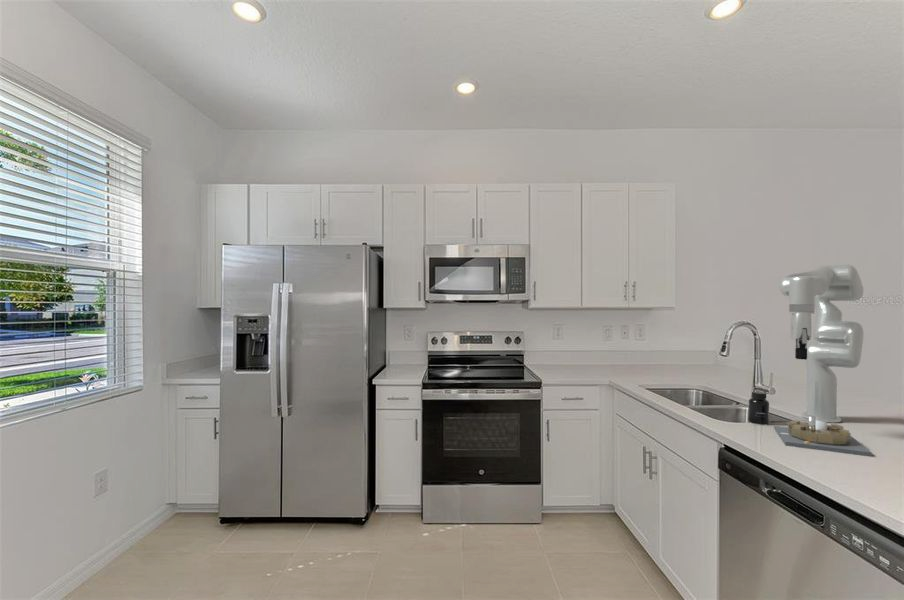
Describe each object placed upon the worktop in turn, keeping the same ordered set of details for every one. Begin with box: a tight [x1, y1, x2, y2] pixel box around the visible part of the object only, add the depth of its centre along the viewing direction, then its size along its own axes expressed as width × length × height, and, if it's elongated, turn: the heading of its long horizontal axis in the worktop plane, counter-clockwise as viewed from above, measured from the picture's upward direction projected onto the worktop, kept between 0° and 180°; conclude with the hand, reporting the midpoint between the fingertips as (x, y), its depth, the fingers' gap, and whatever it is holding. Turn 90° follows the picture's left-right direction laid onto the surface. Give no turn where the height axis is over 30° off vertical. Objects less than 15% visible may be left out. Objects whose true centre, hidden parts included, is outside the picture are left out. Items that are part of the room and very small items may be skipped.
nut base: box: [773, 420, 873, 457], centre depth 156 cm, size 22×22×7 cm
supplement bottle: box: [747, 391, 770, 426], centre depth 180 cm, size 7×7×12 cm
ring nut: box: [788, 416, 851, 445], centre depth 156 cm, size 16×16×8 cm
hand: (801, 358), depth 167 cm, fingers closed
